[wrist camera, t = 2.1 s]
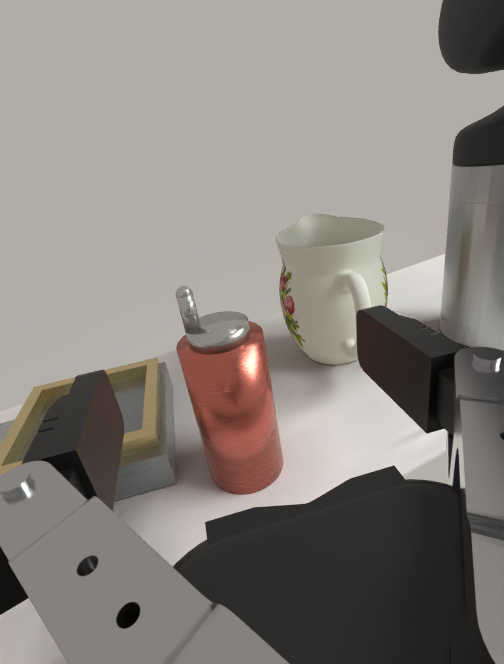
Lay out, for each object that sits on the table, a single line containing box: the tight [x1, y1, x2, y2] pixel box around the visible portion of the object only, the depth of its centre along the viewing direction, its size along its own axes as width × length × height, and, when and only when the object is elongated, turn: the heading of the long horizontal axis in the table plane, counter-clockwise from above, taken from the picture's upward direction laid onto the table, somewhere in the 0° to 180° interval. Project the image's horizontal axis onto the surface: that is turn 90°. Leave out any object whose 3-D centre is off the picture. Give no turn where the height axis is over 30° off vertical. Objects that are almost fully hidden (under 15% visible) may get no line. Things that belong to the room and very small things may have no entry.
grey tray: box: [0, 358, 176, 501], centre depth 32 cm, size 16×14×4 cm
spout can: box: [176, 286, 283, 494], centre depth 25 cm, size 6×6×15 cm
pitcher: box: [276, 214, 388, 365], centre depth 38 cm, size 11×18×14 cm, turn 5°
